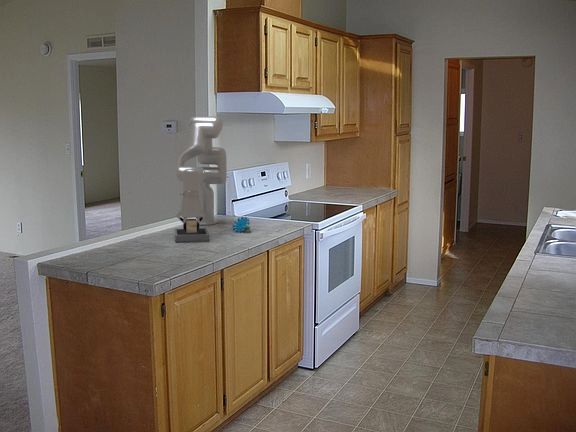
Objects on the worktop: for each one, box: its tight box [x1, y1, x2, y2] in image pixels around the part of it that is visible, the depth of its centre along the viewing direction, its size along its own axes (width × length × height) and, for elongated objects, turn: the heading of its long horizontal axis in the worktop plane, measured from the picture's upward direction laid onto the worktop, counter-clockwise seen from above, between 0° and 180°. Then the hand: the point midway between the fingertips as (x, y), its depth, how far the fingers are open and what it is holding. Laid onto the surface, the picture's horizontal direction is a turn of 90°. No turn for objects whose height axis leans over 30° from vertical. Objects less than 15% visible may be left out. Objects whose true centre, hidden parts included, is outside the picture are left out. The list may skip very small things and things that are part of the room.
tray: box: [174, 227, 210, 244], centre depth 307 cm, size 16×16×4 cm
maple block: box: [186, 218, 197, 233], centre depth 306 cm, size 5×5×6 cm
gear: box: [232, 216, 252, 233], centre depth 327 cm, size 11×6×10 cm
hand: (191, 230), depth 307 cm, fingers closed on maple block, 5 cm apart
